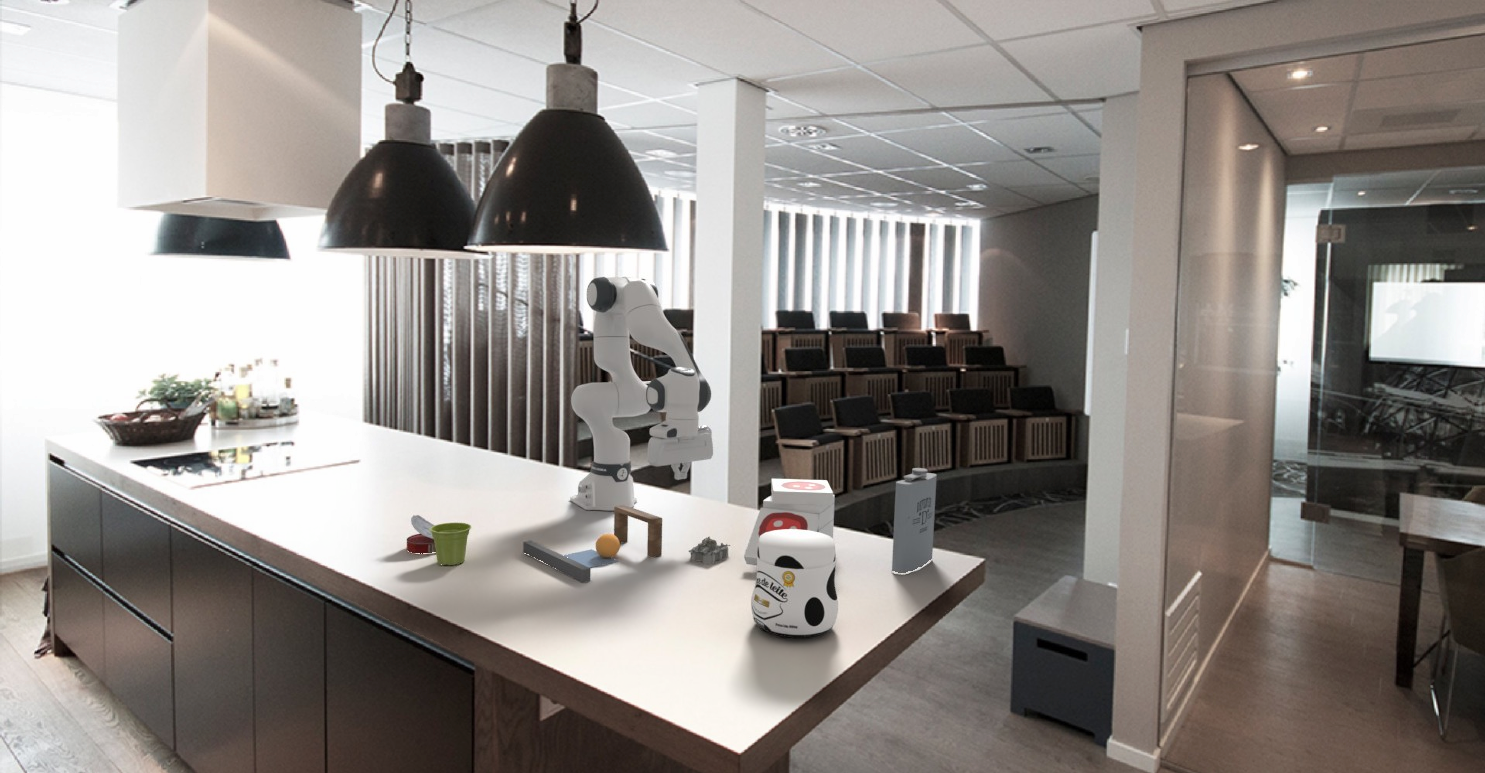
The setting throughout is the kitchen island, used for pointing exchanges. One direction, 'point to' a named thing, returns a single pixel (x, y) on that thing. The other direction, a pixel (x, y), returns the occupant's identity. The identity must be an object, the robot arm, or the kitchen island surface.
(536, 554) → the stopper wall
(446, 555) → the plant pot
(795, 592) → the milk container
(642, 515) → the bridge
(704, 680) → the kitchen island surface
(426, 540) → the canned food
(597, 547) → the ball
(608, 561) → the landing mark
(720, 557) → the egg carton
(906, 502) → the flask
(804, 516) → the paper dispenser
